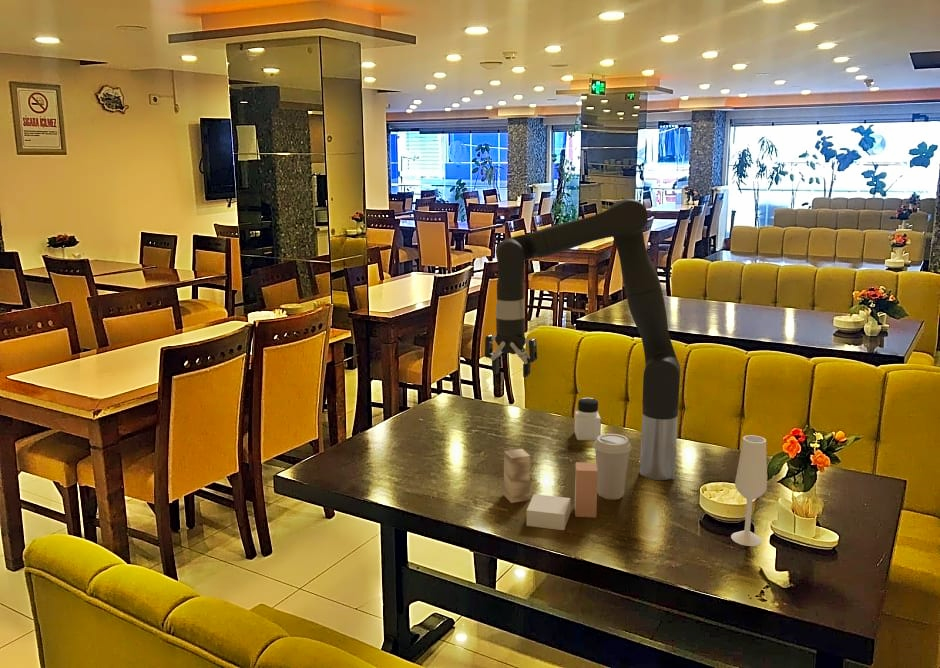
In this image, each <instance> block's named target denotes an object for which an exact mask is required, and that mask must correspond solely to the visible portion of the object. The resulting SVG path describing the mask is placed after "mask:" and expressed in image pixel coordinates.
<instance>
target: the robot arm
mask: <svg viewBox="0 0 940 668" xmlns="http://www.w3.org/2000/svg"><path fill="white" fill-rule="evenodd" d="M648 218H649V214H648V211H647V207H646V206H645V205H644V204H643V203H642V202H640V201H639V200H636V199H633V198H632V199H631V198H624V199H620V200H617V201H615V202H614V203H612V205H611V206H610V208H608V209H606V210H604V211H602V212H599V213H596V214H594V215H591V216H587V217H584V218H581V219H576V220H572V221H566V222H563V223H558V224H555V225H551V226H548V227H545V228H544V227H543V228H541V229H539V230H536V231H534V232H531V233H525V234H520V235H515V236H512V237H509V238H505V239H503V240H501V241H500V242H499V243H498V244H497V246H496V248H495V256H496V262H497V263H496V264H497V280H496V281H497V282H496V305H495V326H496V327H495V328H496V329H495V330H496V335H493V334H488V335H486V336H485V338H484V357H485V358H487V359H490V361H491V372H492V373H493V374H494V375H498V374H499V373H500V359H499V357H500V356H501V355H502V353H503V354H511V355H517V357H518V358H520V360H521V361H522V362H523V363H522V377H523V378H527V377H529V375H530V374H531V364H532V363H533V362H536V361H537V360H538V346H537V343H538V342H537V338H535V337H534V338H526V336H525V334H526V330H525V328H526V327H525V325H526V323H525V322H526V321H525V320H526V318H525V317H526V316H525V315H526V313H525V312H526V311H525V308H526V307H525V299H524V296H525V295H524V293H525V292H524V291H525V290H524V270H525V261H528V260H531V259H534V258H538V259H539V258H546V257H548V256H552V255H555V254H558V253H561V252H565V251H567V250H570V249H574V248H576V247H579V246H582V245H585V244H588V243H592V242H595V241H598V240H602V239H607V238H613V241H614V244H615V247H616V251H617V253H618V258H619V263H620V269H621V276H622V281H623V286H624V292H625V296H626V300H627V304H628V308H629V312H630V315H631V318H632V319H633V322H634V325H635V326H636V328H637V331H638V333H639V336H640V339H641V341H642V347H643V355H644V361H645V367H644V370H643V378H642V379H643V380H642V402H641V403H642V417H641V418H642V419H641V439H640V457H639V458H640V463H639V474H640V475H641V476H643V477H644V478H647V479H649V480H653V481H666V480H675V475H676V474H675V473H676V472H675V470H676V457H677V455H676V454H677V436H678V435H677V431H678V419H679V418H678V417H679V416H678V415H679V403H680V402H679V400H680V398H679V397H680V383H681V382H680V381H681V365H680V362H679V360H678V358H677V355H676V351H675V348H674V346H673V343H672V340H671V336H670V333H669V325H668V316H667V310H666V309H667V308H666V304H665V303H666V302H665V298H664V294H663V290H662V285H661V281H660V279H659V275H658V273H657V270H656V268H655V266H654V264H653V262H652V259H651V257H650V254H649V253H648V251H647V247H646V242H645V238H644V231H643V230H644V228H645V227H646V225H647V224H648V223H647V222H648V220H649V219H648ZM494 343H496V344H497V348H496V349H495V350H493V347H494ZM525 345H526V346H527V348H528V351H529V352H528V351H527V350H526V348H525V347H524V346H525Z"/></svg>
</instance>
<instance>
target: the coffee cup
mask: <svg viewBox="0 0 940 668" xmlns="http://www.w3.org/2000/svg"><path fill="white" fill-rule="evenodd" d="M593 448H594V451H595V463H597V469H598V479H597V496H599V497H600V496H601V497H600V498H602V497H603V498H602V499H606V500H619V499H621V497H622V498H623V497H624V495H625V494H624V493H625V486H626V479H627V472H628V464H629V457H630V451H632V444H631V442H630V441H629V438H628V437H627V436H625V435H622V434H618V433H603V434H600V436H598V437H597V439H596V440H594V443H593Z"/></svg>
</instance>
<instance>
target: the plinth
mask: <svg viewBox="0 0 940 668" xmlns="http://www.w3.org/2000/svg"><path fill="white" fill-rule="evenodd" d="M530 499H531V500H530V502H529V504H528V506H527V508H526V526H527V527H534V528H542V529H550V530H556V531H557V530H558V531H565V529H566V527H567V523H568V521H569V518H570V515H571V498H570V497H562V496H553V495H544V494H536V493H535V494H533V495H532V497H531V498H530Z"/></svg>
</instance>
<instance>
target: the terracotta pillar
mask: <svg viewBox="0 0 940 668" xmlns="http://www.w3.org/2000/svg"><path fill="white" fill-rule="evenodd" d="M597 479H598V469H597V463H596V462H584V461H583V462H579V461H577V462H575V479H574V480H575V481H574V514H575V515H574V516H575V517H576V518H597V511H598V510H597V506H598V504H597V503H598V486H597Z"/></svg>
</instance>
